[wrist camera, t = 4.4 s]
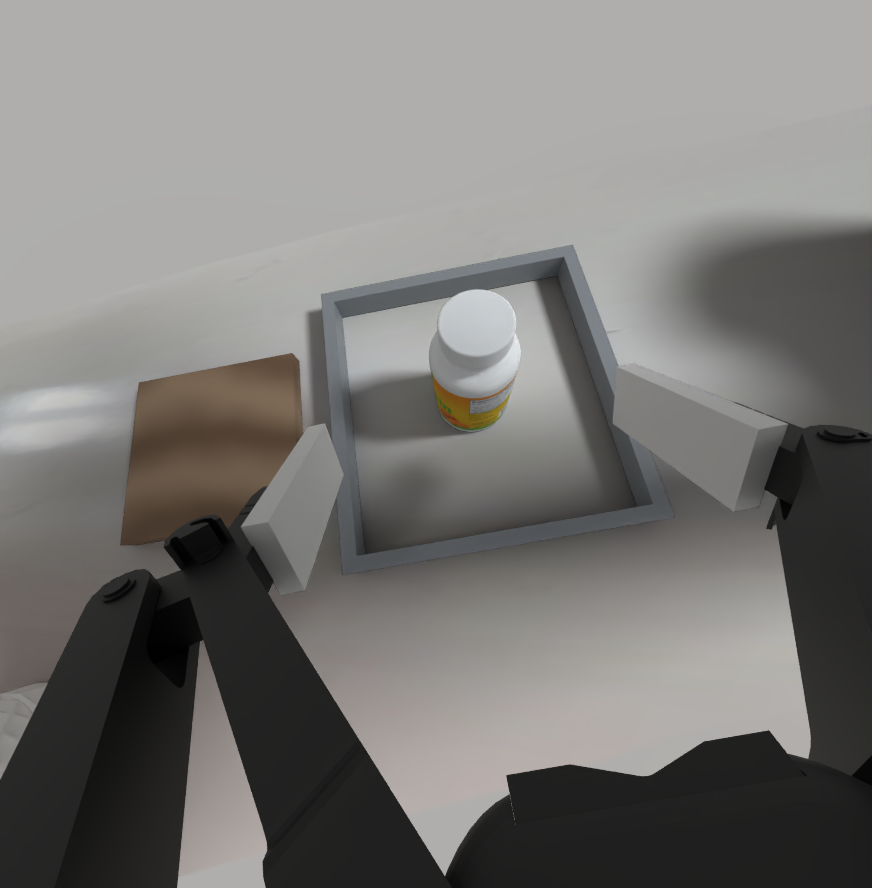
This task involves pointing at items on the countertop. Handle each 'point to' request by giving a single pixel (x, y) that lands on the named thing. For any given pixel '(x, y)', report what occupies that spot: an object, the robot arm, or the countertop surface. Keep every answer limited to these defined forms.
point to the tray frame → (451, 283)
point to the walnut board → (208, 443)
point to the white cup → (16, 718)
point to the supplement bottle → (474, 359)
